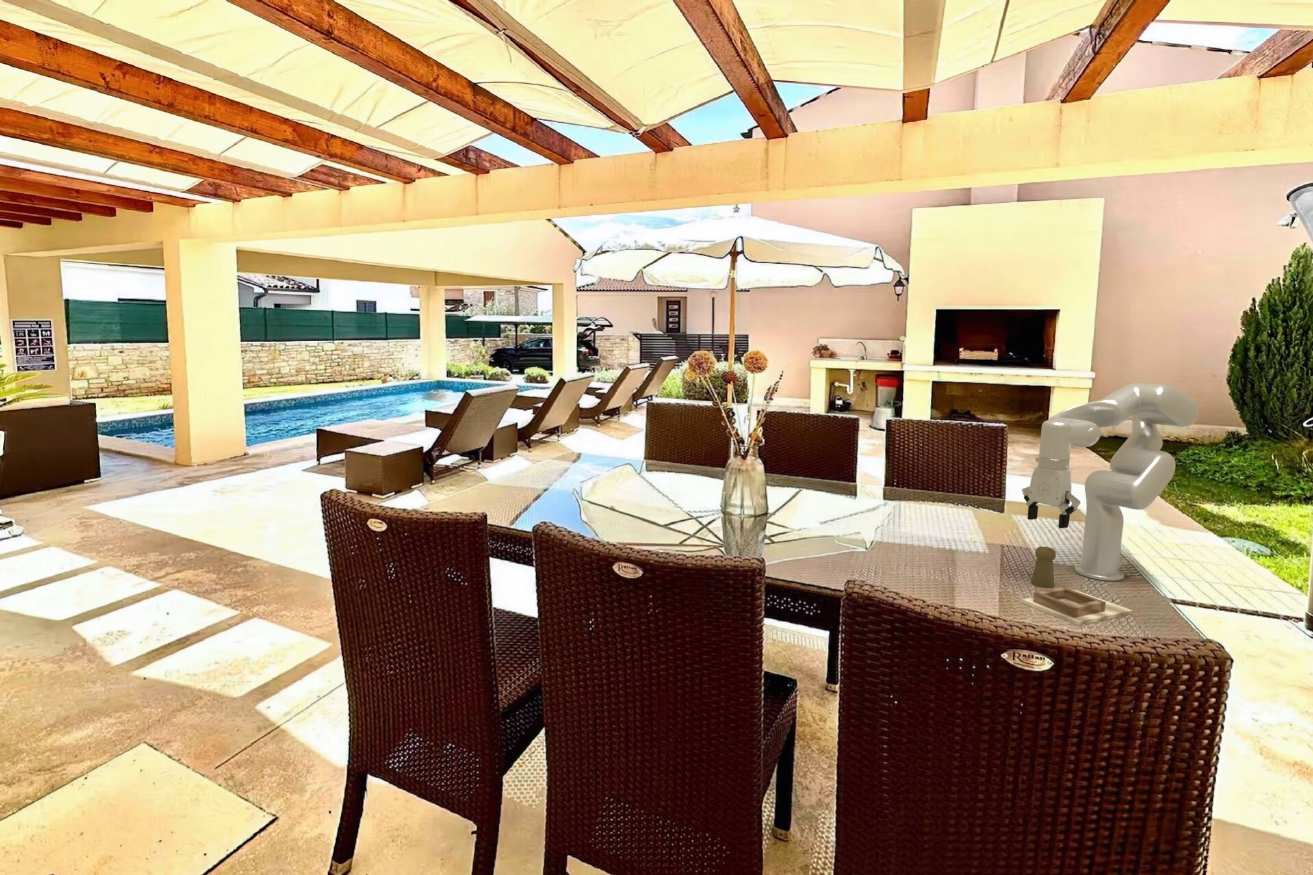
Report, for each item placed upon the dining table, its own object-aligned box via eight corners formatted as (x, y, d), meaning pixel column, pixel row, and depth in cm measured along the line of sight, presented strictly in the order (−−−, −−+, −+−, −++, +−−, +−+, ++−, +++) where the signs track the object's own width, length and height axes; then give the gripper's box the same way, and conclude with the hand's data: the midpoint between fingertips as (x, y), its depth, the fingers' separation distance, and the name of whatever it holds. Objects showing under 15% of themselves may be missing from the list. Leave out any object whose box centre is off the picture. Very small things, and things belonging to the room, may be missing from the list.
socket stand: (1073, 592, 190) (1074, 580, 190) (1131, 614, 176) (1133, 601, 175) (1021, 602, 183) (1023, 590, 182) (1078, 625, 168) (1079, 612, 167)
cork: (1028, 584, 196) (1032, 548, 195) (1032, 579, 201) (1035, 543, 199) (1052, 589, 193) (1056, 552, 191) (1056, 583, 197) (1059, 547, 196)
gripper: (1017, 459, 198) (1011, 517, 201) (1073, 470, 182) (1066, 532, 185) (1035, 458, 201) (1029, 515, 203) (1092, 469, 185) (1085, 530, 188)
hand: (1047, 523), depth 194 cm, fingers open, 9 cm apart
